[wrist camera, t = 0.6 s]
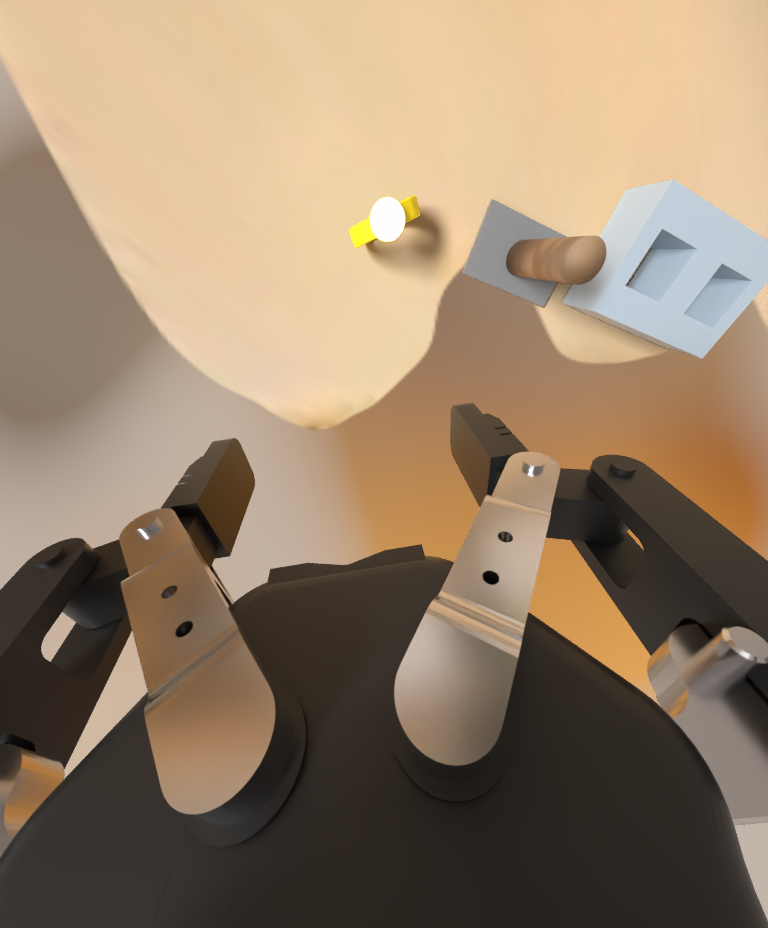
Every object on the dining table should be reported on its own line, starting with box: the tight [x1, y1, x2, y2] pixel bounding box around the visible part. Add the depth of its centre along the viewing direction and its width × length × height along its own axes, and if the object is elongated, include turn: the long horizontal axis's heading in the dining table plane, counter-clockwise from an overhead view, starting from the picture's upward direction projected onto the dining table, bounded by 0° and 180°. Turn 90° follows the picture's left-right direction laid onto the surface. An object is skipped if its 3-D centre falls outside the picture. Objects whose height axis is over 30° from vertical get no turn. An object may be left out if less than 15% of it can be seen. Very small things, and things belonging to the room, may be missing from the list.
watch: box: [349, 195, 420, 248], centre depth 26 cm, size 6×3×6 cm, turn 113°
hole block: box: [562, 179, 768, 358], centre depth 32 cm, size 10×16×5 cm, turn 72°
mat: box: [462, 200, 566, 307], centre depth 31 cm, size 6×10×1 cm, turn 72°
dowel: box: [506, 236, 607, 285], centre depth 27 cm, size 3×3×10 cm
